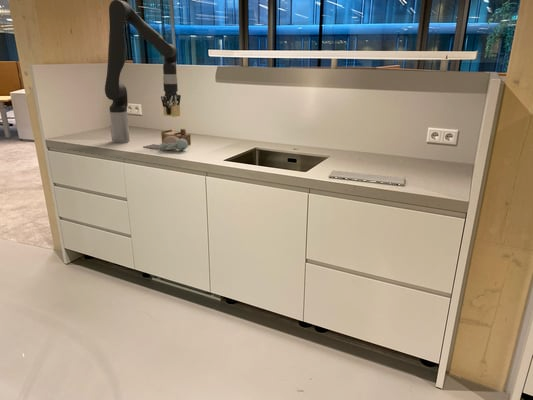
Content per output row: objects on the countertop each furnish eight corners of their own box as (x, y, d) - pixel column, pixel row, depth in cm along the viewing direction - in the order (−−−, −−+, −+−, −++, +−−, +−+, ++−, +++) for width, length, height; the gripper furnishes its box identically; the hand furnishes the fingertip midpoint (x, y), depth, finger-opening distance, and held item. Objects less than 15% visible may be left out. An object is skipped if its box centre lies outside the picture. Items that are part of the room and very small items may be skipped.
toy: (162, 161, 216) (185, 149, 212) (152, 143, 214) (176, 132, 209) (171, 156, 227) (193, 145, 223) (162, 139, 225) (184, 128, 220)
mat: (143, 147, 225) (142, 146, 225) (153, 144, 231) (153, 144, 231) (156, 149, 220) (156, 148, 220) (166, 146, 227) (166, 146, 227)
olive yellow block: (163, 115, 230) (163, 103, 228) (169, 114, 234) (168, 102, 232) (174, 116, 227) (174, 104, 224) (180, 115, 230) (179, 103, 228)
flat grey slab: (333, 172, 186) (328, 179, 175) (334, 165, 185) (328, 172, 174) (404, 179, 176) (403, 187, 165) (405, 172, 175) (404, 180, 164)
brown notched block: (162, 143, 235) (160, 127, 232) (171, 141, 241) (170, 126, 238) (182, 146, 228) (181, 130, 225) (190, 144, 234) (190, 128, 231)
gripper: (174, 81, 232) (175, 112, 238) (156, 82, 220) (157, 114, 226) (184, 82, 228) (185, 113, 234) (166, 83, 217) (168, 116, 222)
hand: (171, 113), depth 230 cm, fingers closed on olive yellow block, 4 cm apart
